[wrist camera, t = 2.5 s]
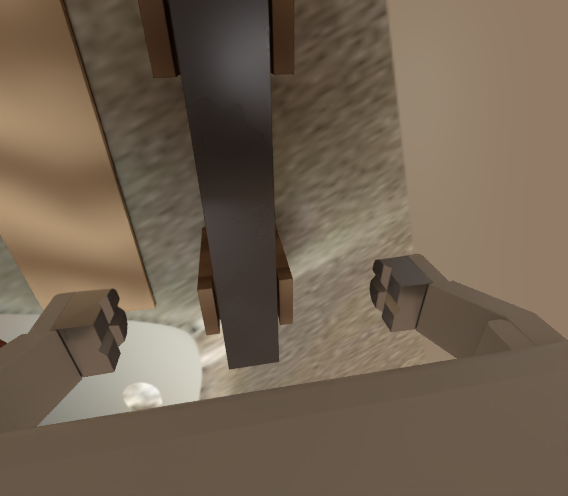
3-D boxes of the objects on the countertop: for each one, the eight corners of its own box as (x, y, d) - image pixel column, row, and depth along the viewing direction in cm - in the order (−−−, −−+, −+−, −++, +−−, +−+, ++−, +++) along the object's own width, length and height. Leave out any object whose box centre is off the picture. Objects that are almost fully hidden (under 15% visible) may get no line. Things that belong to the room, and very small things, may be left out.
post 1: (160, -15, 16) (127, -51, 10) (267, -14, 17) (294, -47, 11) (174, 67, 18) (153, 77, 12) (269, 65, 19) (293, 74, 13)
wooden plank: (-195, -124, 13) (-206, -129, 12) (28, -113, 14) (23, -117, 13) (51, 317, 25) (49, 321, 25) (155, 304, 27) (155, 308, 26)
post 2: (202, 228, 24) (197, 290, 18) (274, 221, 24) (292, 278, 18) (209, 267, 26) (206, 335, 20) (275, 260, 26) (292, 323, 20)
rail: (163, -90, 11) (147, -131, 8) (253, -86, 11) (264, -124, 9) (227, 331, 21) (229, 369, 19) (272, 325, 22) (279, 361, 19)
